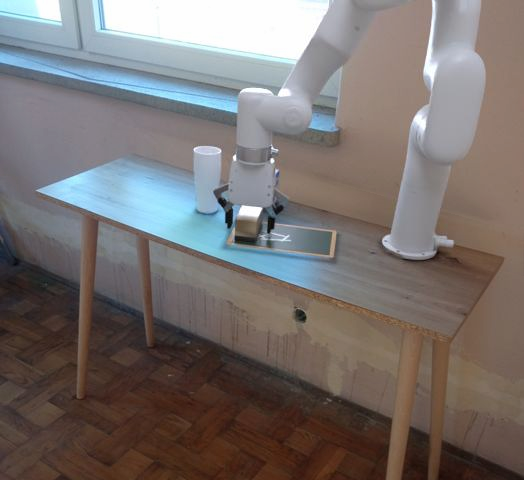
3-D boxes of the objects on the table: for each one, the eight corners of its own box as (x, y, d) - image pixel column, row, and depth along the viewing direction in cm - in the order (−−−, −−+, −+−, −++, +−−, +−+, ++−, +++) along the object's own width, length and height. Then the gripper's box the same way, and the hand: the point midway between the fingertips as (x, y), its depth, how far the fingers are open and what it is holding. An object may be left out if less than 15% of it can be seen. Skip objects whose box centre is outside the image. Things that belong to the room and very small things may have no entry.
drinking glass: (224, 214, 139) (225, 153, 131) (197, 216, 137) (197, 155, 128) (215, 204, 144) (216, 145, 136) (190, 206, 142) (189, 146, 133)
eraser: (262, 225, 133) (263, 205, 130) (255, 242, 125) (256, 221, 122) (242, 223, 133) (243, 203, 130) (234, 240, 125) (235, 219, 122)
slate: (336, 234, 134) (336, 230, 133) (333, 262, 122) (333, 257, 121) (238, 222, 136) (238, 218, 135) (225, 248, 124) (225, 243, 123)
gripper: (295, 152, 121) (288, 227, 131) (217, 143, 122) (216, 218, 132) (292, 162, 115) (284, 240, 125) (209, 153, 116) (208, 231, 126)
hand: (249, 228), depth 128 cm, fingers open, 8 cm apart
